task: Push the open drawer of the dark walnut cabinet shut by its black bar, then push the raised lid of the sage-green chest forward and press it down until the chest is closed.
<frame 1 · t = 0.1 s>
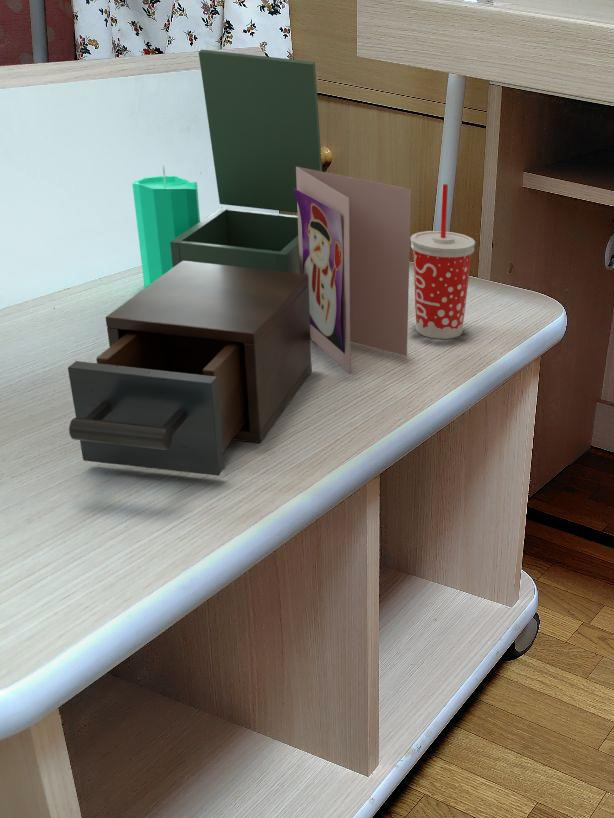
candle: (175, 289, 102), on the table
chest lid: (265, 136, 95), point 15 cm above the table, hinge at 80.0°
cabinet: (223, 397, 80), on the table
beverage cup: (439, 332, 98), on the table
drawer: (171, 395, 70), point 4 cm above the table, slide at 6.0 cm
chest: (256, 308, 99), on the table
greeting card: (353, 349, 92), on the table
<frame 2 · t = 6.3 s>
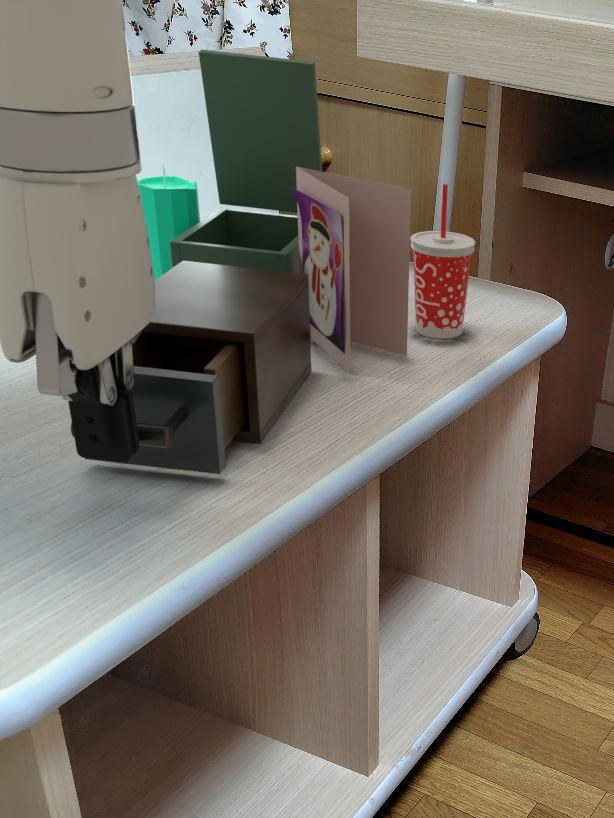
hand: (109, 453, 61), 5 cm above the table, tool pointing down, fingers closed
drawer: (173, 394, 70), point 4 cm above the table, slide at 5.8 cm, touching gripper
everything else where it was.
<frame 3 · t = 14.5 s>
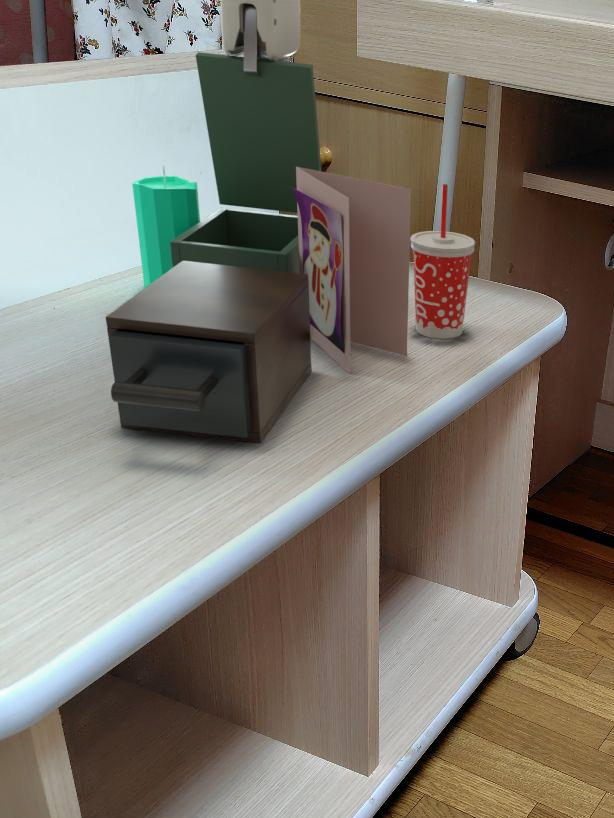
hand: (270, 135, 97), 15 cm above the table, tool pointing down, fingers closed
chest lid: (263, 138, 95), point 15 cm above the table, hinge at 76.6°, touching gripper
drawer: (202, 364, 75), point 4 cm above the table, slide at 0.0 cm, touching cabinet
everything else where it was.
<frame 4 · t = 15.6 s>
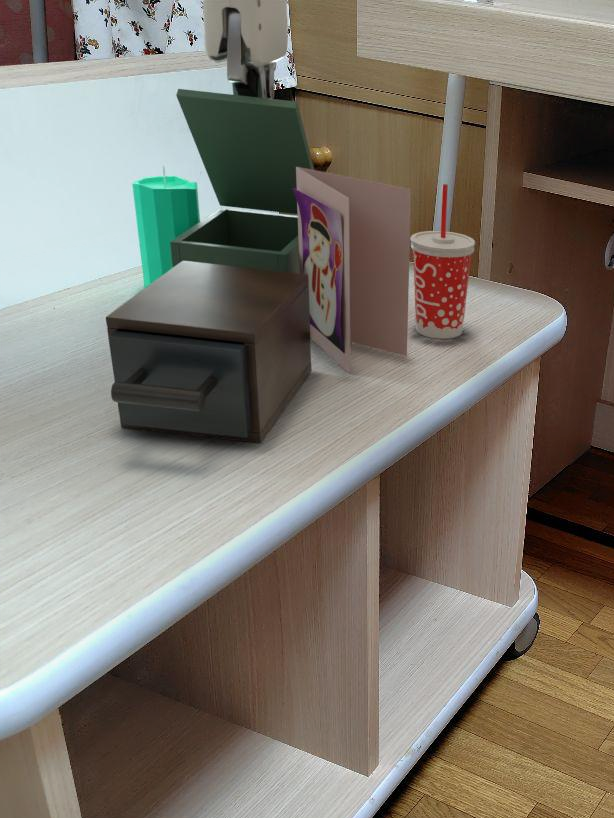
hand: (256, 144, 93), 15 cm above the table, tool pointing down, fingers closed
chest lid: (255, 157, 93), point 14 cm above the table, hinge at 52.5°
everything else where it was.
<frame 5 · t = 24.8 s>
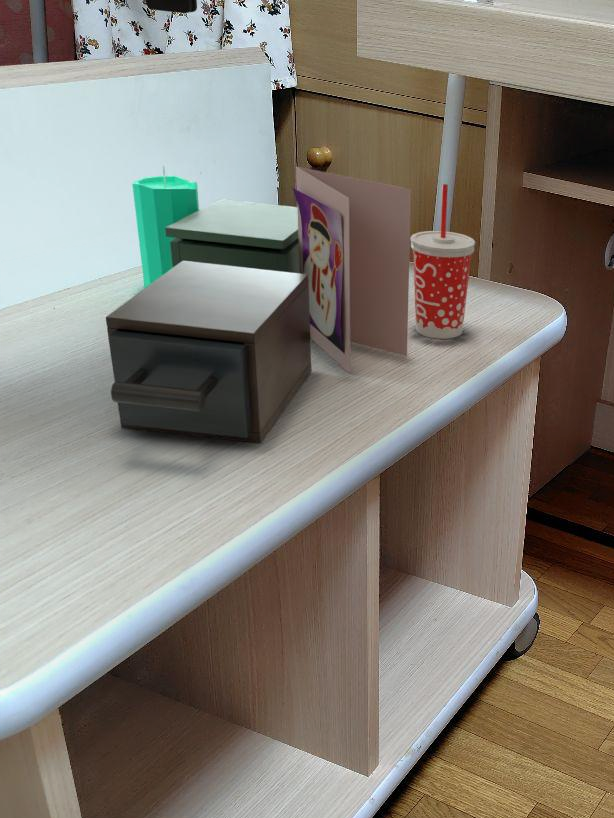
hand: (172, 10, 73), 27 cm above the table, tool pointing down, fingers closed
chest lid: (250, 222, 94), point 9 cm above the table, hinge at 2.4°
everything else where it was.
at the end: drawer slide at 0.0 cm; chest lid at +2° (first picture: +80°) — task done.
